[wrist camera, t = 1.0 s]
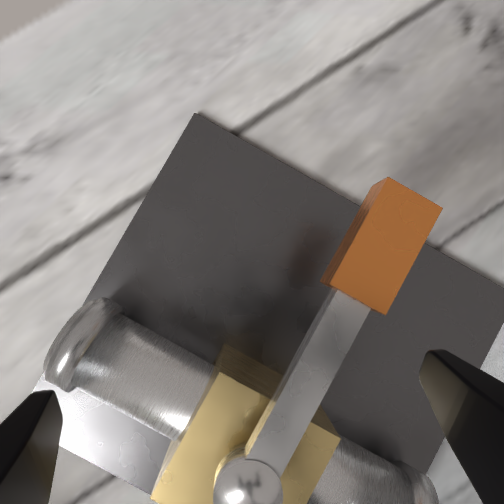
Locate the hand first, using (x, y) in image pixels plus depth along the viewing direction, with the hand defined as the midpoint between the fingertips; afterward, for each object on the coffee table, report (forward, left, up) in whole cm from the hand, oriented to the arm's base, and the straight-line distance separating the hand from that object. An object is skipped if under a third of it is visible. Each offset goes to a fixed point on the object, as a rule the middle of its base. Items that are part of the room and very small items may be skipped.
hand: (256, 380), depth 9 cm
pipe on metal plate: (-3, +2, -15) cm, 15 cm away
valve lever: (-3, -1, -7) cm, 8 cm away
